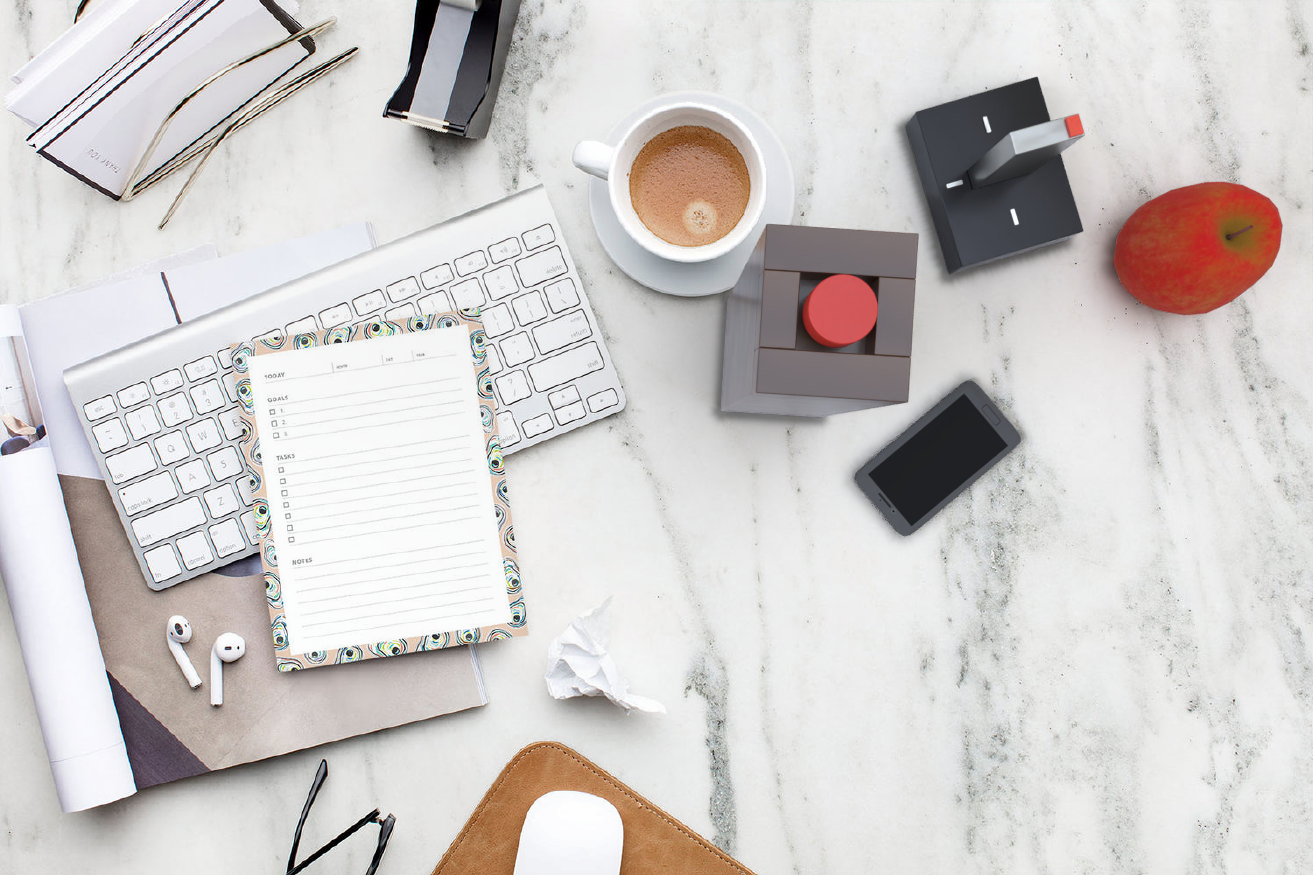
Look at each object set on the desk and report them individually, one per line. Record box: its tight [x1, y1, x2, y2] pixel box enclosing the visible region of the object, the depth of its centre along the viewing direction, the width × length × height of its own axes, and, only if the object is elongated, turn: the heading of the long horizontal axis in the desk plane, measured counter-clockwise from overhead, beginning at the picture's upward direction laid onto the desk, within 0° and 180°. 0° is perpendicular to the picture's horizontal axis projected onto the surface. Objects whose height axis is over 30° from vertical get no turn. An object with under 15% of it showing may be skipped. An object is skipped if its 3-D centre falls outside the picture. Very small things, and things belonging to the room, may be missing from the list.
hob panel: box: [905, 76, 1084, 275], centre depth 68 cm, size 14×11×3 cm
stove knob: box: [968, 113, 1086, 189], centre depth 63 cm, size 6×2×8 cm, turn 106°
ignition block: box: [720, 223, 919, 418], centre depth 58 cm, size 10×9×24 cm
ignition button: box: [803, 274, 878, 348], centre depth 45 cm, size 4×4×2 cm
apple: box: [1112, 180, 1284, 316], centre depth 64 cm, size 11×11×11 cm
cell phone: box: [854, 379, 1022, 537], centre depth 69 cm, size 7×14×1 cm, turn 130°
